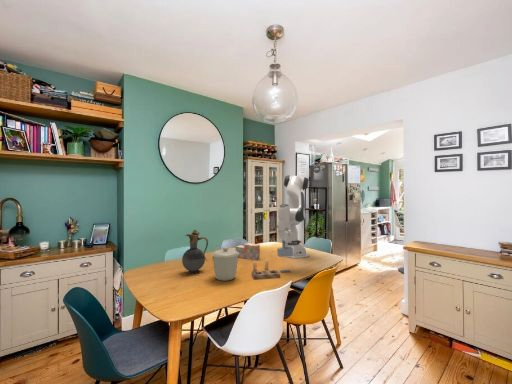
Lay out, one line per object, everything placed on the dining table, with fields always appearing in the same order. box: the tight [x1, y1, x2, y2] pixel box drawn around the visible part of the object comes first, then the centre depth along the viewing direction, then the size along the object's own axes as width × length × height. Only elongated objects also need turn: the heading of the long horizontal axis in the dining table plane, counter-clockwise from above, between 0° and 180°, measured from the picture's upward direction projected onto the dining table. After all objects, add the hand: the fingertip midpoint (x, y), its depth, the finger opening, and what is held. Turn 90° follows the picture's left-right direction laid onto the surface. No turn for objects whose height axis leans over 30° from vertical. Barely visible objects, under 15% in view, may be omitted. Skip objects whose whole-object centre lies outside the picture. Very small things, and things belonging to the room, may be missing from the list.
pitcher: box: [181, 229, 209, 275], centre depth 175 cm, size 11×19×30 cm, turn 126°
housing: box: [276, 241, 293, 258], centre depth 175 cm, size 10×5×10 cm, turn 101°
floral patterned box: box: [235, 242, 261, 261], centre depth 211 cm, size 21×6×12 cm, turn 57°
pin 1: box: [252, 260, 258, 272], centre depth 177 cm, size 3×3×7 cm
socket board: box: [251, 269, 281, 280], centre depth 165 cm, size 18×8×2 cm, turn 101°
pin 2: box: [264, 259, 269, 271], centre depth 180 cm, size 3×3×7 cm
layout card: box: [279, 268, 291, 273], centre depth 175 cm, size 7×3×1 cm, turn 101°
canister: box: [211, 246, 239, 282], centre depth 162 cm, size 18×18×21 cm
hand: (285, 246), depth 175 cm, fingers closed on housing, 3 cm apart
